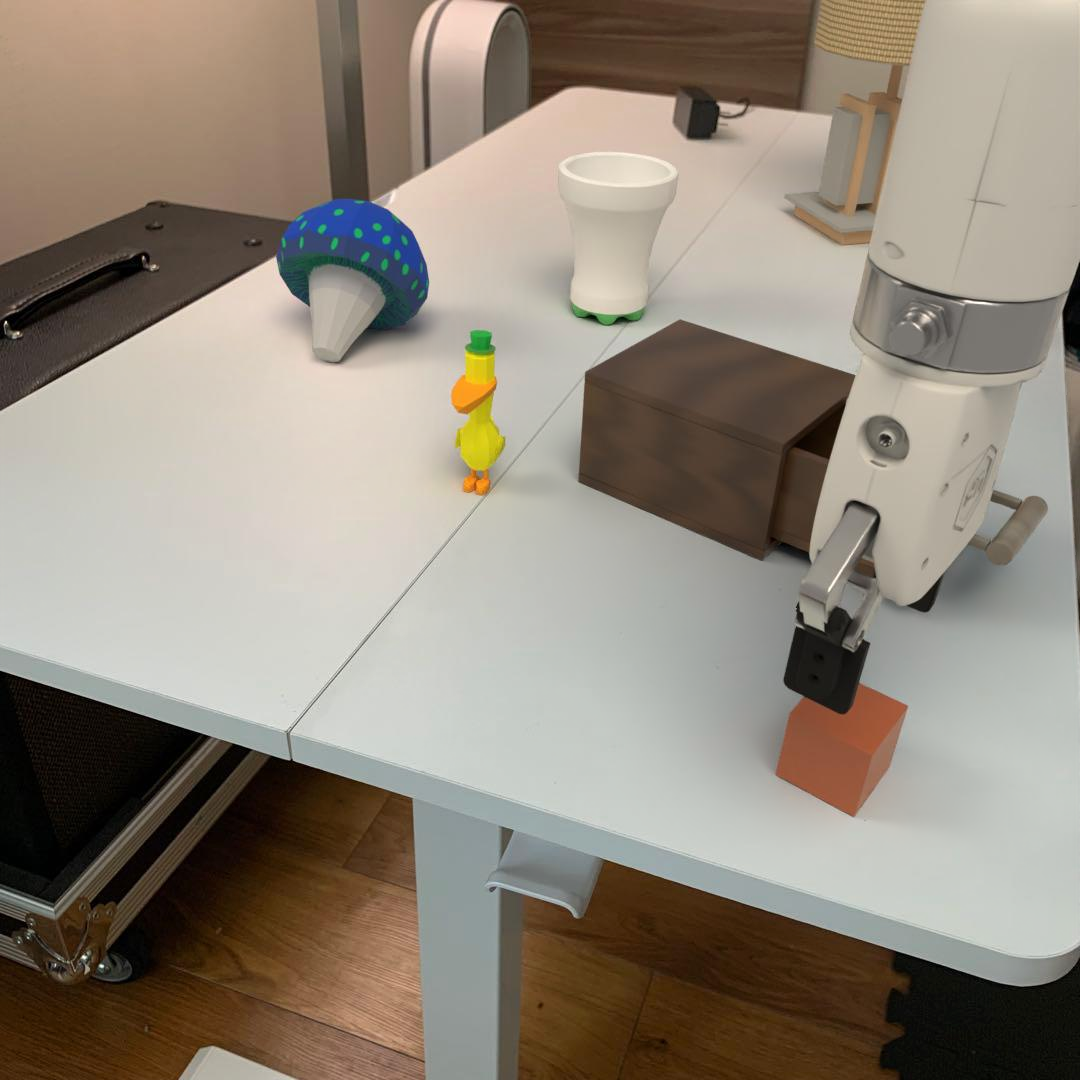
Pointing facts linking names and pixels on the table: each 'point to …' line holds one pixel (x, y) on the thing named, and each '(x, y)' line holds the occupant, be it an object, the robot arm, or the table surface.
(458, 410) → the toy figure
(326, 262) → the mushroom
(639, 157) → the cup
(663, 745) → the table surface
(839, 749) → the block
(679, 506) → the cabinet
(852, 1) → the desk lamp
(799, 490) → the drawer
